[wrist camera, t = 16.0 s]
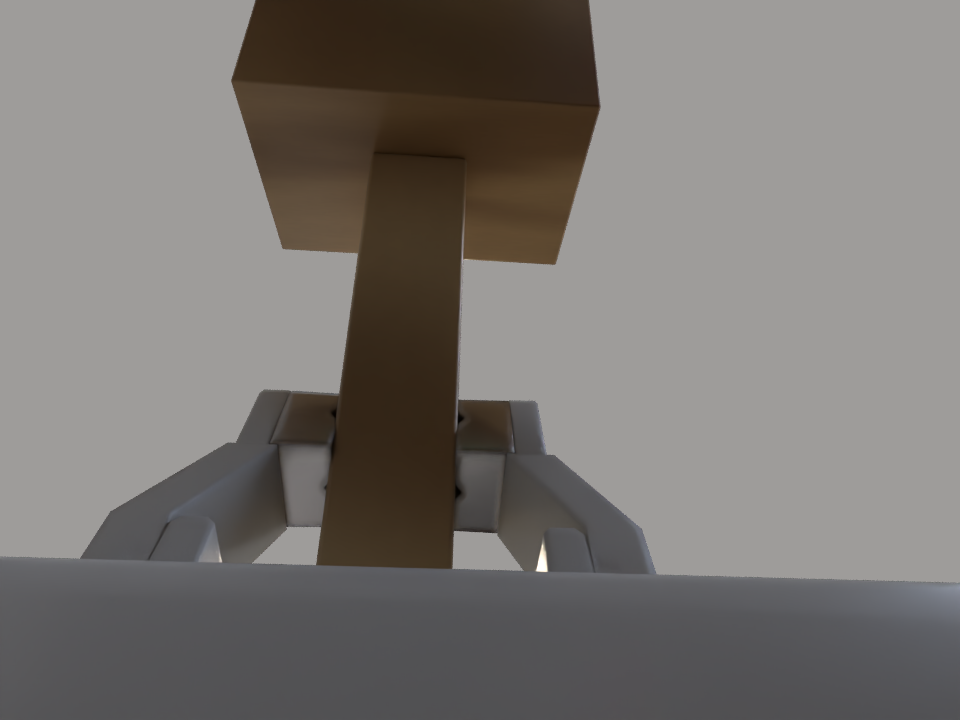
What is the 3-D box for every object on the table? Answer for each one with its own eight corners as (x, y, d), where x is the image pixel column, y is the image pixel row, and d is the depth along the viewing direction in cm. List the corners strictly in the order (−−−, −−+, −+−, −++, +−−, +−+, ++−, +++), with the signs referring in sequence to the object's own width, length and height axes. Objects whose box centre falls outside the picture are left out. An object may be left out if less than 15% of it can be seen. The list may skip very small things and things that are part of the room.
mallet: (62, 630, 7) (197, 662, 12) (659, 645, 8) (576, 670, 12) (283, -93, 15) (315, 90, 19) (582, -67, 15) (547, 107, 20)
